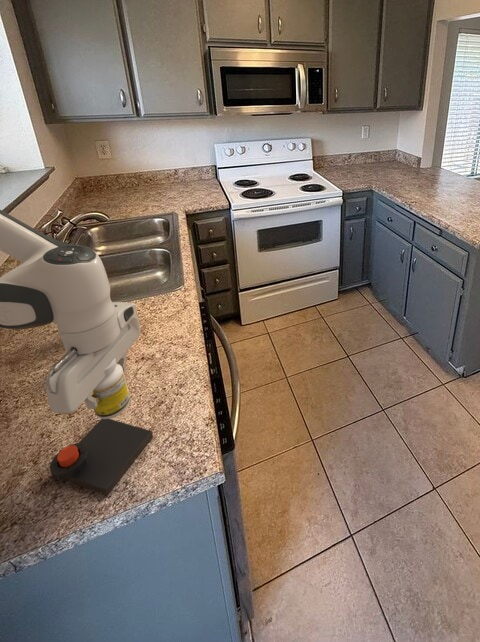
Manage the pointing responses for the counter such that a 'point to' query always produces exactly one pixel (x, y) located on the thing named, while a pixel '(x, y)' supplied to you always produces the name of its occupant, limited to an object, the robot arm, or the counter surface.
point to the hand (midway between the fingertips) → (108, 388)
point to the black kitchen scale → (103, 456)
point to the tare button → (68, 456)
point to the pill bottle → (112, 392)
